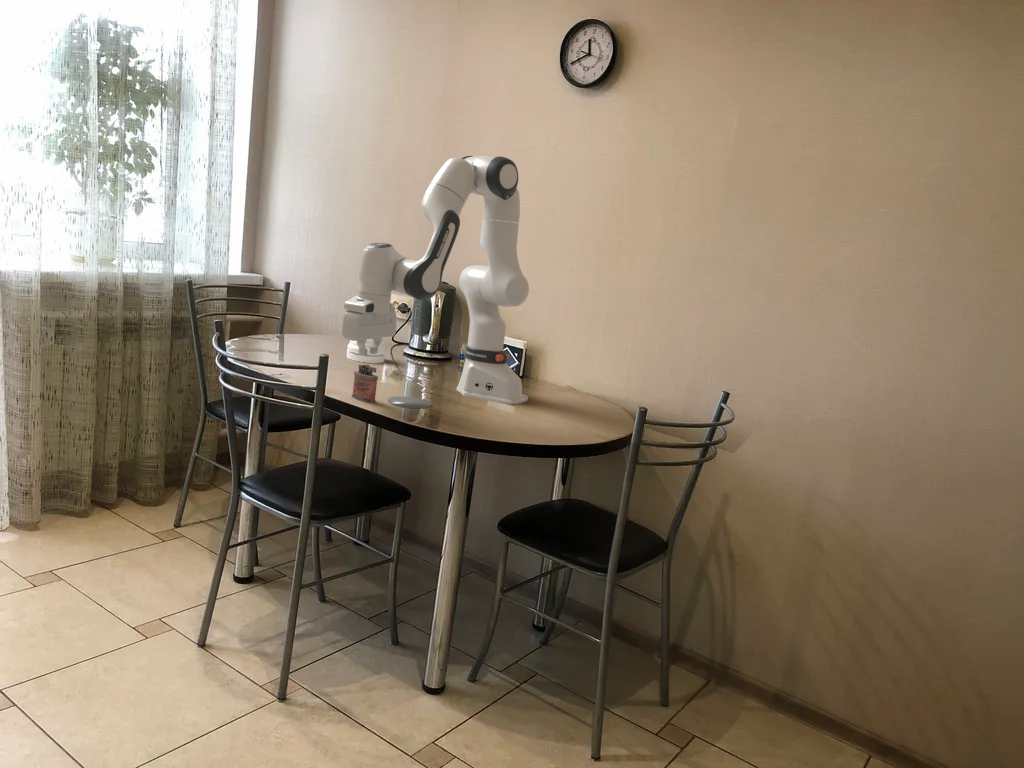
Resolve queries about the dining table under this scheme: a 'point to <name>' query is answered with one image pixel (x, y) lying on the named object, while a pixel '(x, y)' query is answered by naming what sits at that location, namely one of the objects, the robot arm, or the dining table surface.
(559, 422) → the dining table surface
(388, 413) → the dining table surface
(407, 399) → the coaster
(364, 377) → the lighter
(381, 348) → the honey pot
